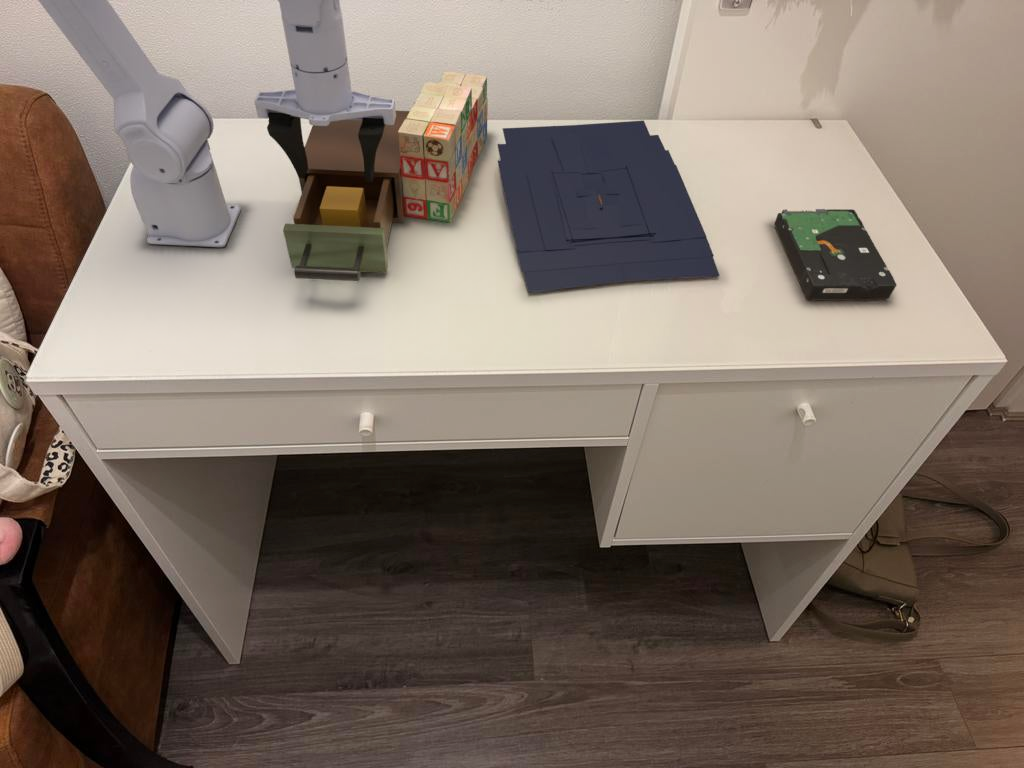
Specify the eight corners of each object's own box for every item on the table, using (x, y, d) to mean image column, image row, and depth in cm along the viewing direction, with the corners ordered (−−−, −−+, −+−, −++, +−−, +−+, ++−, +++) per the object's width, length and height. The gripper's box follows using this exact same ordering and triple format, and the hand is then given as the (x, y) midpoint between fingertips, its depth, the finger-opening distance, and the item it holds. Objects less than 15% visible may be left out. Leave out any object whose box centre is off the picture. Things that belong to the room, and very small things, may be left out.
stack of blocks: (446, 130, 111) (444, 48, 101) (487, 136, 110) (489, 54, 101) (404, 216, 97) (396, 130, 88) (451, 223, 96) (448, 137, 87)
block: (325, 242, 90) (319, 208, 86) (332, 220, 93) (326, 186, 89) (362, 244, 90) (357, 210, 86) (368, 221, 93) (363, 187, 89)
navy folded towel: (652, 135, 110) (657, 114, 107) (715, 290, 93) (724, 270, 90) (488, 145, 106) (489, 123, 103) (524, 307, 90) (526, 287, 87)
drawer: (380, 303, 85) (375, 265, 81) (281, 299, 85) (271, 260, 81) (400, 204, 97) (397, 166, 93) (314, 200, 97) (307, 162, 93)
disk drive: (889, 302, 90) (846, 224, 100) (899, 285, 88) (855, 207, 97) (806, 303, 89) (771, 224, 99) (814, 286, 87) (777, 207, 97)
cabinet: (403, 222, 96) (399, 172, 91) (306, 218, 96) (296, 168, 90) (415, 159, 106) (412, 111, 100) (327, 155, 105) (319, 106, 100)
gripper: (236, 74, 73) (265, 192, 83) (384, 83, 73) (395, 199, 84) (254, 41, 78) (279, 156, 88) (394, 49, 78) (403, 163, 88)
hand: (336, 175), depth 86 cm, fingers open, 7 cm apart
